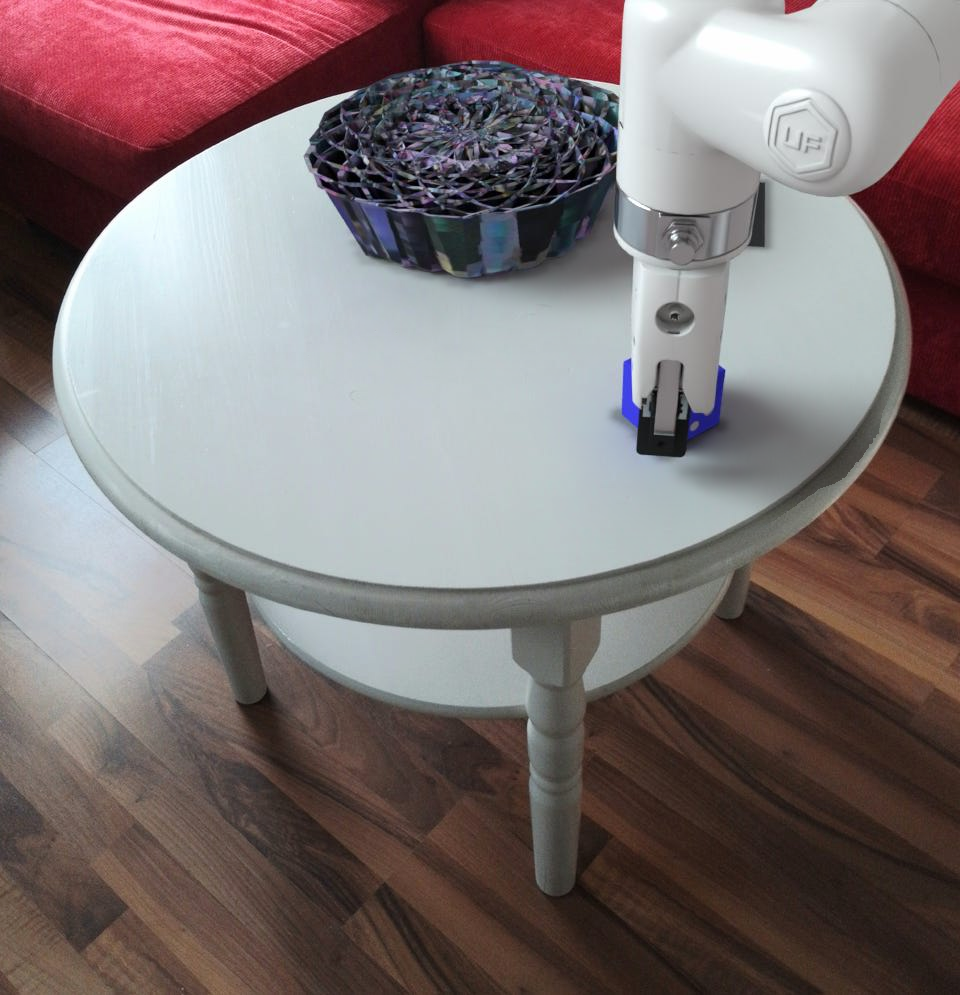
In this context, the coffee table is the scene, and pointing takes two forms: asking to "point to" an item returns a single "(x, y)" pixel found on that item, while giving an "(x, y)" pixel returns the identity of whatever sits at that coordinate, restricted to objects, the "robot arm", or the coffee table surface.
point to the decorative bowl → (469, 165)
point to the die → (697, 420)
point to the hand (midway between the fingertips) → (660, 447)
